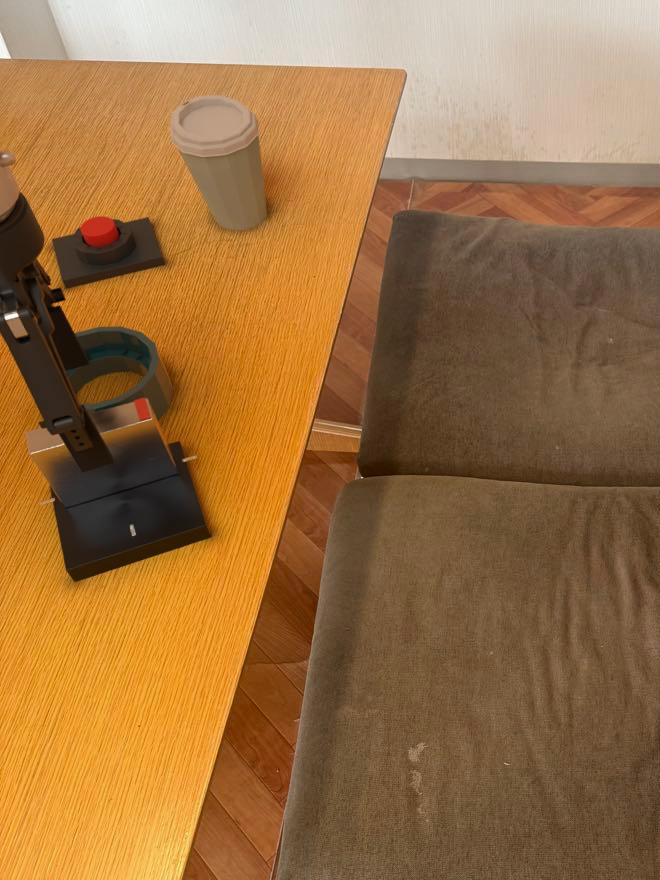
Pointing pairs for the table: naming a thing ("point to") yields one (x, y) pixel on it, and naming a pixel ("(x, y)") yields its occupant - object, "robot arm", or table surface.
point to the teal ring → (123, 367)
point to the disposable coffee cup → (222, 157)
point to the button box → (108, 254)
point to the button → (99, 231)
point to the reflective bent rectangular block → (129, 442)
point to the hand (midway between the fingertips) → (85, 413)
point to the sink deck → (131, 523)
